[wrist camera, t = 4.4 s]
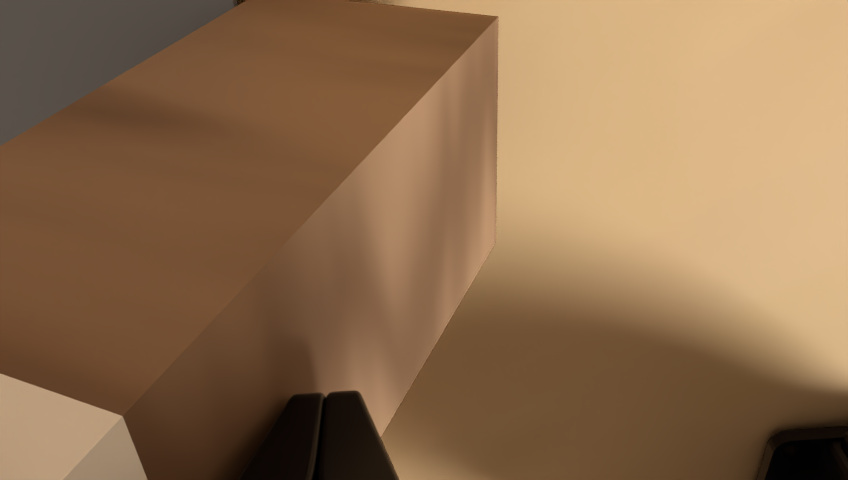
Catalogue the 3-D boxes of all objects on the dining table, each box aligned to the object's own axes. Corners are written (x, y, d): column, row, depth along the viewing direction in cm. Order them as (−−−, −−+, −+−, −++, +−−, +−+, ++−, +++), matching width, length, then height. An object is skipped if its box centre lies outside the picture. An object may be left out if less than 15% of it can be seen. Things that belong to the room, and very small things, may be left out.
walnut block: (495, 242, 17) (180, 776, 9) (296, 200, 19) (-120, 618, 11) (498, 16, 14) (36, 509, 6) (261, -9, 16) (-345, 349, 8)
